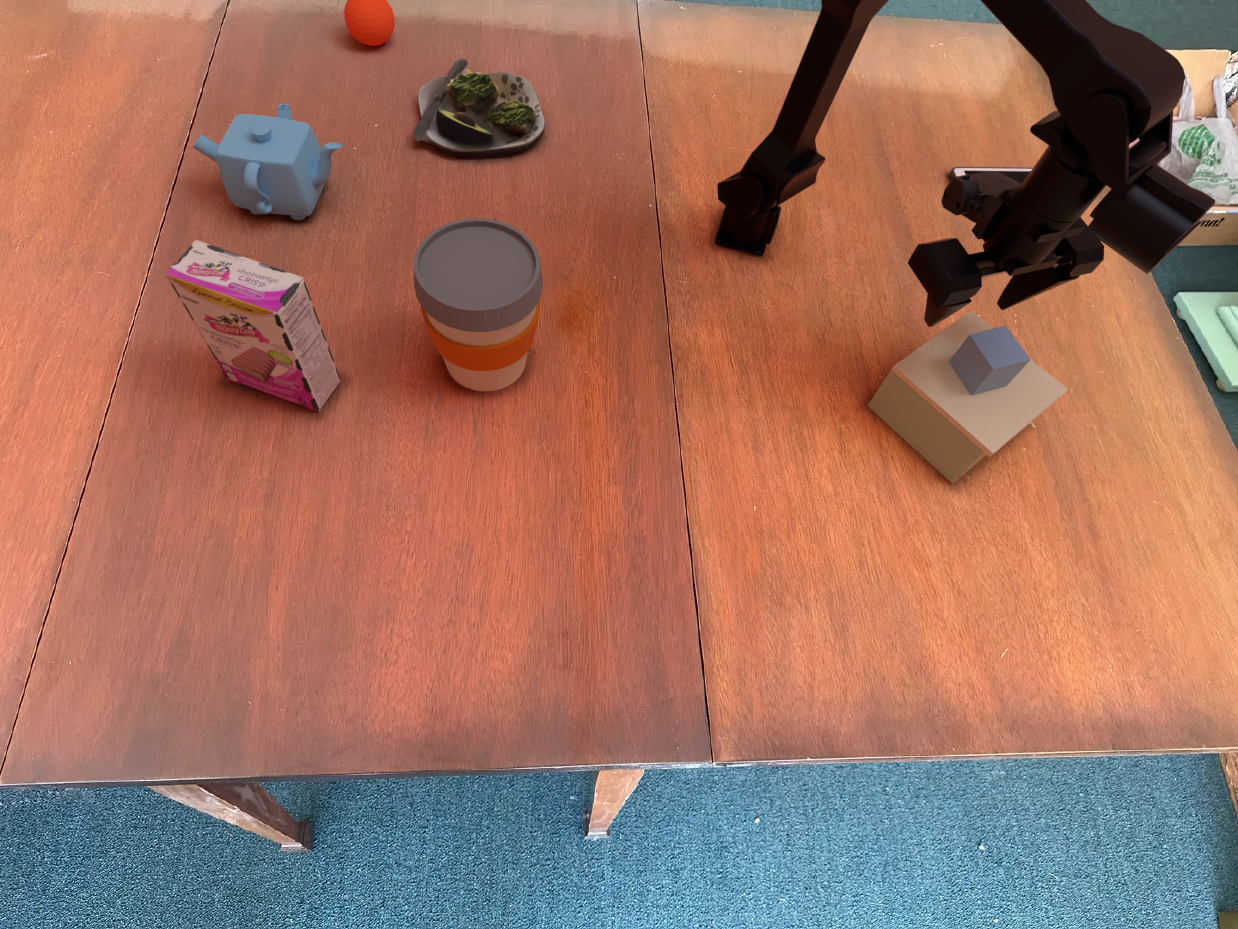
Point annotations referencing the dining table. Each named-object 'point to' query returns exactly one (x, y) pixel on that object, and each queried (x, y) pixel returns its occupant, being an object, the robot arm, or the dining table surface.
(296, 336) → the candy bar box
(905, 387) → the chest
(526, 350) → the reusable coffee cup
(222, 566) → the dining table surface
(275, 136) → the teapot
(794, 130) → the robot arm
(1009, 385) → the lid
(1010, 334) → the block
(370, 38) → the clementine
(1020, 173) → the cell phone
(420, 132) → the avocado toast plate
